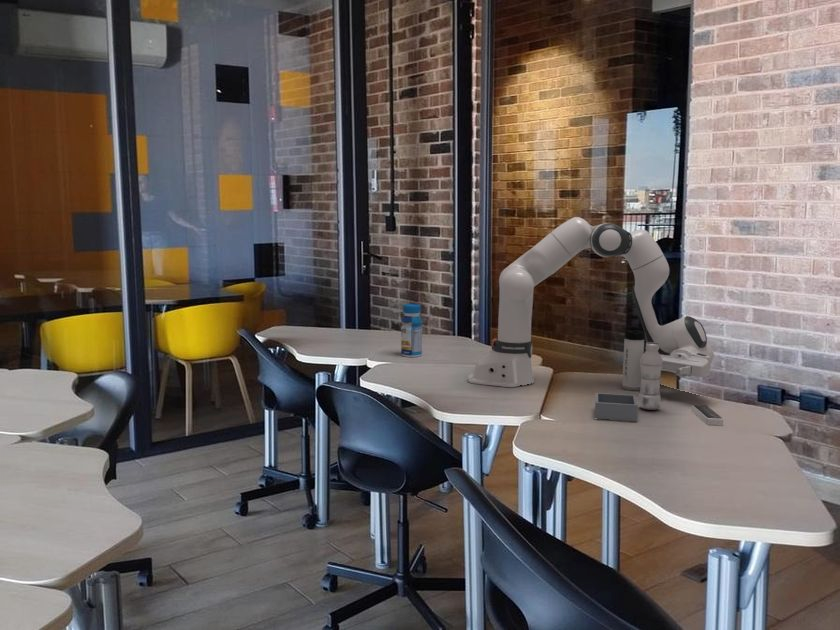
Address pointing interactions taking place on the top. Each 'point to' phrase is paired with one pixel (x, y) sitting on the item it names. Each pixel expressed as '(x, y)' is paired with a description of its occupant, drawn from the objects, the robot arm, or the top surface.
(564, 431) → the top surface
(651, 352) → the plastic bottle
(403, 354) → the beverage bottle
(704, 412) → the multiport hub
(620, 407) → the gray open square bin
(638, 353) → the travel mug
